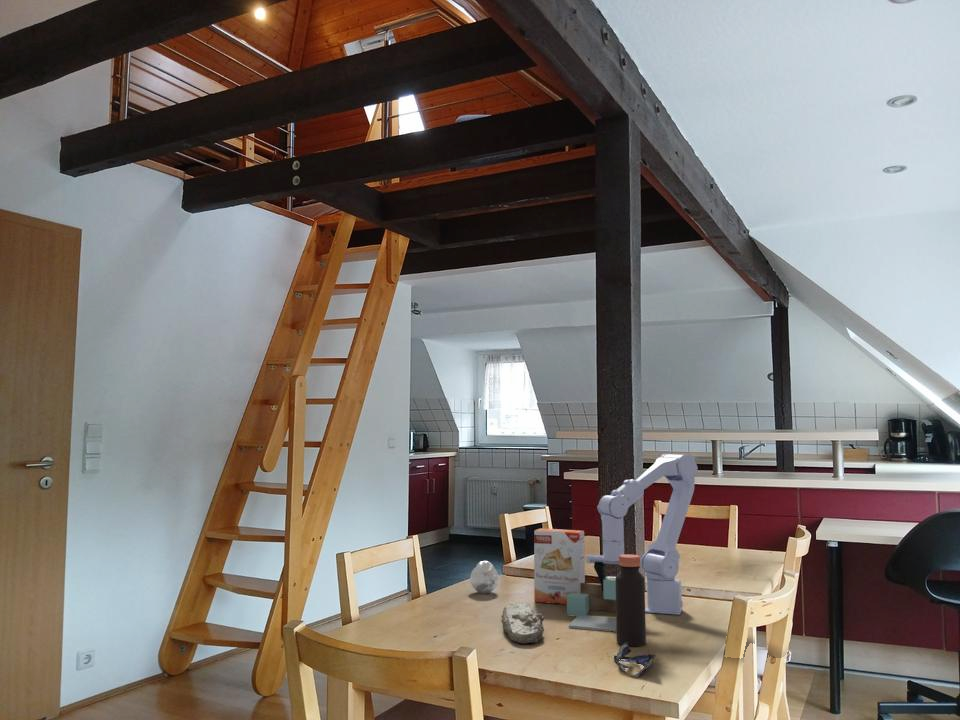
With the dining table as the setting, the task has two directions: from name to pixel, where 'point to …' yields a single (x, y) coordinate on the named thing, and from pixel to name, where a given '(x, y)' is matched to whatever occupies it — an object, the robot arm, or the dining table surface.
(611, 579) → the lettered cube
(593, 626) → the slate tile
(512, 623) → the elongated rock
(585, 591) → the walnut screen
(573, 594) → the blank cube
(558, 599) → the cracker box
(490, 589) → the grey egg-shaped stone
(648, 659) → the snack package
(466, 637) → the dining table surface
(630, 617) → the bottle
